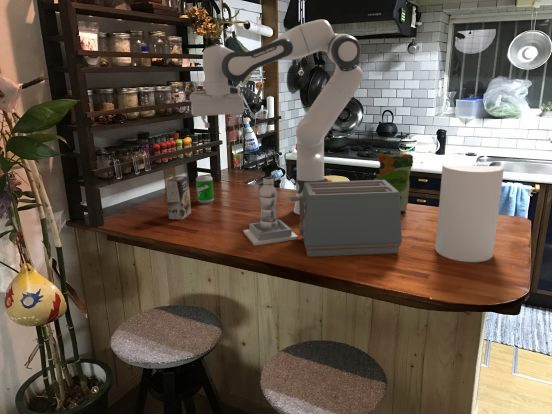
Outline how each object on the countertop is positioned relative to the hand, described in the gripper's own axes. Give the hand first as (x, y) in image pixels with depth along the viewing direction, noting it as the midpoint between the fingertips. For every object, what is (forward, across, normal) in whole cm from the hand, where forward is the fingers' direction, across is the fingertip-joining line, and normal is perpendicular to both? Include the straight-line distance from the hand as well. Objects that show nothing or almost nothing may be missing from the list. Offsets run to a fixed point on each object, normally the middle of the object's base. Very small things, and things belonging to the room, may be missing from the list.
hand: (219, 126), depth 177 cm
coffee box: (+37, -17, +9) cm, 41 cm away
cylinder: (+38, +62, -67) cm, 99 cm away
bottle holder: (+37, +10, -28) cm, 48 cm away
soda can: (+37, -3, +26) cm, 45 cm away
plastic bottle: (+36, +9, -28) cm, 47 cm away
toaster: (+38, +29, -47) cm, 67 cm away
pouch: (+38, +64, -23) cm, 78 cm away
